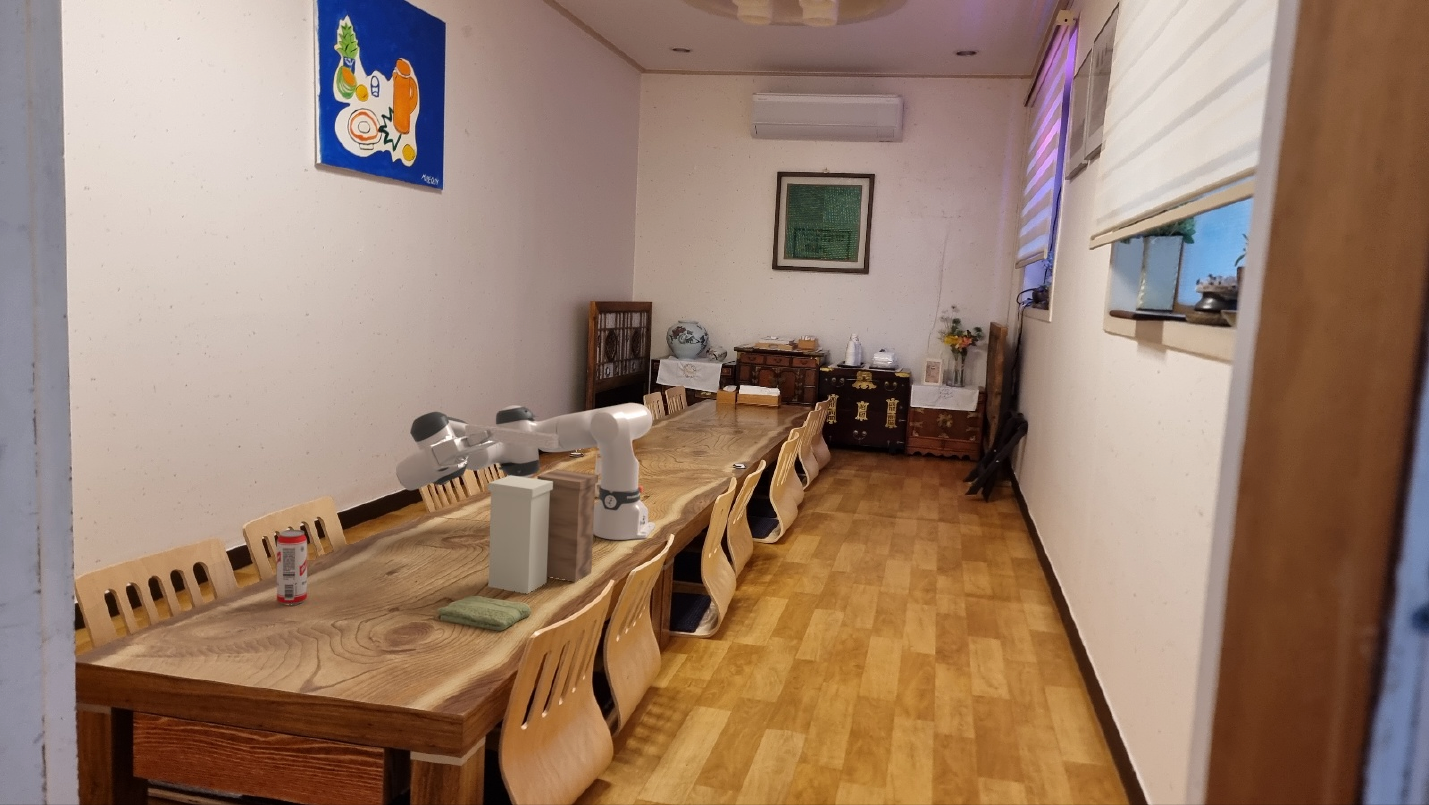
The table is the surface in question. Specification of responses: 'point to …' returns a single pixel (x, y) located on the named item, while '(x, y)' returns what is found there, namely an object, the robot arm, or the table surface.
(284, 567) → the beer can
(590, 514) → the walnut stand
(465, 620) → the washcloth
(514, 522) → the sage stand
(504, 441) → the bar
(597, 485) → the coffeecake box
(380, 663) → the table surface
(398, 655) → the table surface
